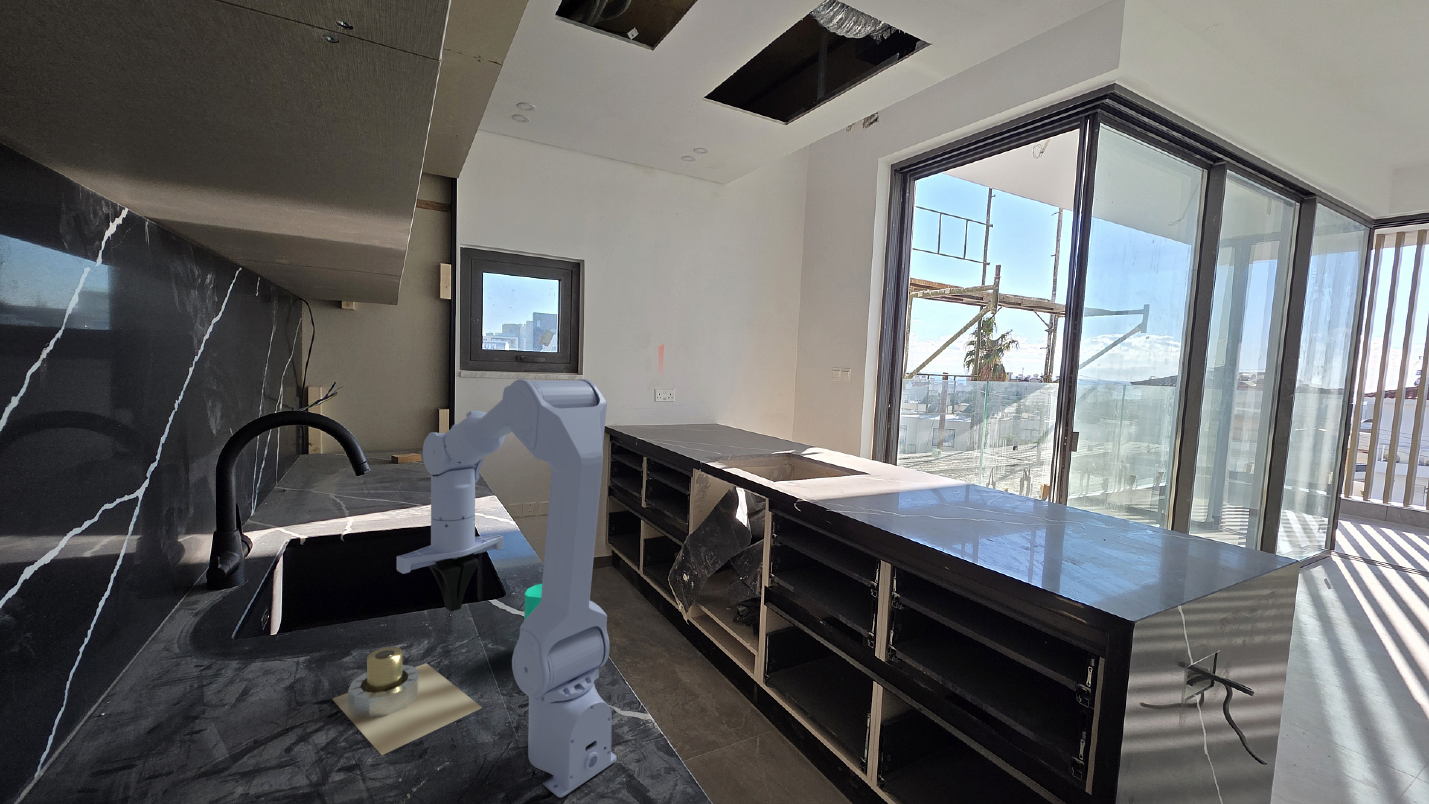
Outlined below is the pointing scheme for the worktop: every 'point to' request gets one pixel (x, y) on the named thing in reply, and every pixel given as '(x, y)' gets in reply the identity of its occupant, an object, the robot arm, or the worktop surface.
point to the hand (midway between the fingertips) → (453, 608)
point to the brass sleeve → (384, 669)
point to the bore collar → (383, 695)
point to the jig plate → (414, 713)
